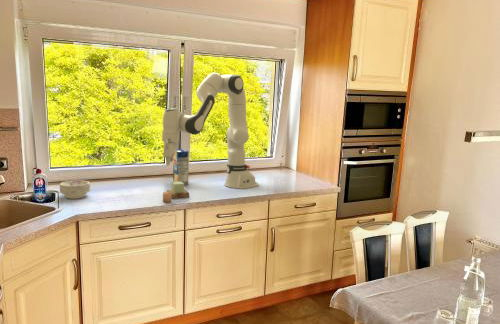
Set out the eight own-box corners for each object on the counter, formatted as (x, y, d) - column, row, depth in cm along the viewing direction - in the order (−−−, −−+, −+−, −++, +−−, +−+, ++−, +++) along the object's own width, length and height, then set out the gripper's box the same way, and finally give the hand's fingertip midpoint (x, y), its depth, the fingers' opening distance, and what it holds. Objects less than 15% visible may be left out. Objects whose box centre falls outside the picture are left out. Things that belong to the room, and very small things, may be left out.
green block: (184, 192, 218) (184, 183, 217) (174, 192, 216) (174, 184, 215) (181, 189, 223) (181, 181, 222) (172, 190, 220) (172, 182, 219)
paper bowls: (82, 191, 220) (81, 178, 219) (95, 196, 211) (95, 183, 209) (55, 196, 209) (54, 182, 207) (68, 202, 199) (67, 187, 198)
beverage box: (177, 186, 241) (178, 151, 236) (173, 182, 250) (173, 149, 246) (188, 185, 244) (188, 151, 239) (183, 181, 253) (183, 148, 249)
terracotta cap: (169, 200, 211) (169, 191, 210) (172, 202, 207) (172, 193, 206) (161, 200, 209) (161, 192, 208) (164, 203, 205) (164, 194, 204)
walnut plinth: (183, 192, 226) (183, 188, 226) (189, 197, 218) (189, 192, 217) (167, 194, 222) (167, 189, 221) (172, 198, 213) (172, 194, 213)
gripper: (173, 140, 196) (172, 167, 198) (179, 136, 216) (178, 160, 218) (160, 140, 195) (160, 166, 198) (168, 135, 215) (167, 159, 218)
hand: (169, 163), depth 208 cm, fingers open, 8 cm apart
